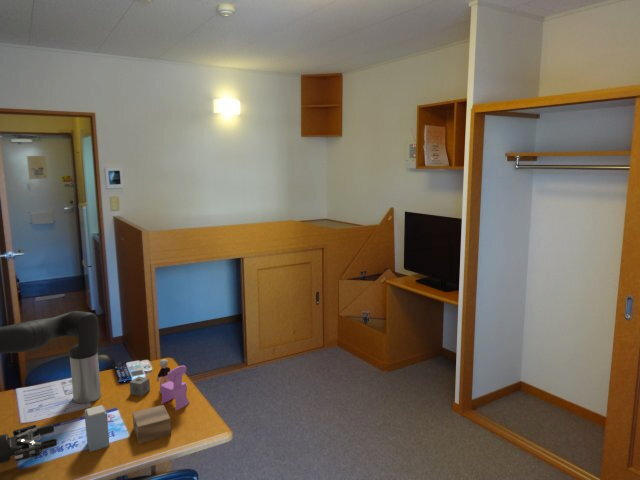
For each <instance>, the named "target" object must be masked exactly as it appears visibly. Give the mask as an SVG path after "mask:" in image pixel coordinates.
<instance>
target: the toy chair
mask: <svg viewBox="0 0 640 480" xmlns="http://www.w3.org/2000/svg"><path fill="white" fill-rule="evenodd" d="M170 370H171V371H170V372H168V375H167V379H168V380H169V382H167V383H164V384H162V385H161V388H160V387H159V391H160V390H161V392H162V394H161V402H160V404H161V405H164V404H165V403H167V402H169V401H171V400H173V399H174V400H175V409H174V410H175V411H178V410H180V409H182V408H184V407H186V406H187V405H189V404H190V401H189V399H188V397H187V391H188V386H187V382H185V381H183V376H184V374H186V372H187V367H186V365H179V366H177V367H174V368H172V369H170Z"/></svg>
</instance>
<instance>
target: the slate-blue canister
mask: <svg viewBox="0 0 640 480" xmlns="http://www.w3.org/2000/svg"><path fill="white" fill-rule="evenodd" d="M84 421H85V422H84V423H85V424H84V425H85V432H86V443H87V444H86V445H87V447H88V449H89V452H90V453H91V452H93V451H94V452H95V451H97V450H100V449H104V448H108V447H110V441H109V440H110V437H109V423H108V413H107V410H106V408H105V406H104V405H102V404H101V405H98V406H93V407H89V408H86V409H85V410H84Z"/></svg>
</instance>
